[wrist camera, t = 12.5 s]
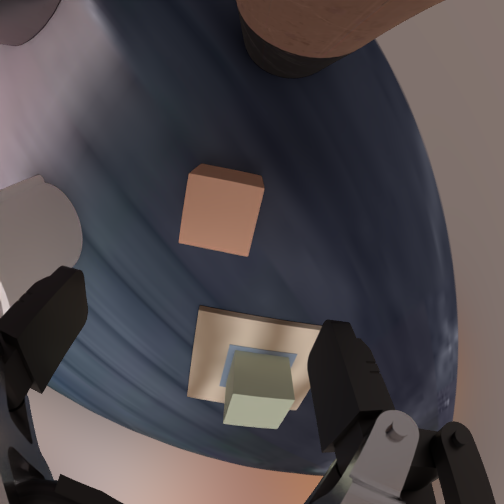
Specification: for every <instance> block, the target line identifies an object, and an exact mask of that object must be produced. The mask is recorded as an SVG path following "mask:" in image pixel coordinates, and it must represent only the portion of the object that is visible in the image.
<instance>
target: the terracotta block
mask: <svg viewBox="0 0 504 504" xmlns="http://www.w3.org/2000/svg"><path fill="white" fill-rule="evenodd" d="M264 189H265V188H264V184H263V180H262V176H260V175H256V174H251V173H247V172H242V171H237V170H232V169H227V168H222V167H217V166H212V165H206V164H200V165H199V166H198V167H196V168H195V169H194V170H193V171H191V172H190V173H189V176H188V182H187V188H186V194H185V201H184V207H183V214H182V221H181V228H180V236H179V243H182V244H187V245H192V246H197V247H202V248H207V249H212V250H217V251H222V252H227V253H232V254H237V255H242V256H247V257H248V254H249V250H250V246H251V242H252V238H253V234H254V230H255V226H256V222H257V218H258V214H259V209H260V205H261V201H262V197H263V193H264Z"/></svg>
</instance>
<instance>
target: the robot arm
mask: <svg viewBox="0 0 504 504" xmlns="http://www.w3.org/2000/svg"><path fill="white" fill-rule="evenodd" d="M59 1H60V0H0V44H3V45H10V46H17V45H21V44H23V43H25V42H27V41H28V40H29V39H31V38H32V37H33V36H34V35H35V34H37V33H38V32H39V31H40V30H41V28H42V27H43V26H44V25H45V24H46V23H47V21H48V20H49V18H50V17H51V16H52V14H53V12H54V11H55V9H56V7H57V5H58V3H59ZM87 315H88V306H87V298H86V290H85V281H84V274H83V272H82V271H81V270H78V269H74V268H70V267H67V266H60V267H59V268H58V269H57V270H56V271H54V272H53V273H52V274H51V275H50V276H49V277H48V276H47V277H45V278H43V279H41V280H39V281H37V282H35V283H34V284H33V285H32V286H31V287H30V288H29V289H28V290H27V291H26V294H25V293H24V294H23V295H22V296H21V297H20V298H19V301H16V302H15V303H14V304H13V305H12V306H11V307H10V308H9V310H8V311H7V312H6V313H5V314H4V315H3V316H2V317H1V318H0V504H123V503H121V502H119V501H117V500H116V499H114V498H112V497H111V496H109V495H107V494H106V493H104V492H102V491H100V490H97V489H95V488H92V487H89V486H87V485H84V484H82V483H80V482H77V481H75V480H72V479H70V478H68V477H66V476H64V475H62V474H60V476H59V479H58V481H57V480H54V479H53V477H52V474H51V471H50V470H49V467H48V465H47V463H46V461H45V459H44V457H43V456H42V454H41V452H40V449H39V446H38V442H37V438H36V434H35V430H34V425H33V420H32V415H31V410H30V404H29V399H28V396H27V393H28V390H29V389H30V388H31V389H33V390H35V391H37V392H39V393H41V394H42V393H43V391H44V390H45V388H46V386H47V384H48V382H49V381H50V379H51V377H52V376H53V374H54V372H55V371H56V369H57V367H58V366H59V364H60V362H61V361H62V359H63V357H64V356H65V354H66V353H67V351H68V349H69V348H70V346H71V345H72V343H73V342H74V340H75V339H76V337H77V335H78V334H79V332H80V331H81V329H82V328H83V326H84V325H85V323H86V320H87ZM375 362H376V361H375V359H374V357H373V354H372V352H371V350H370V349H369V347H368V346H367V345H366V344H365V343H364V342H363V341H362V340H361V339H359V338H356V336H355V334H354V331H353V329H352V327H351V324H350V323H349V322H342V321H334V320H326V321H325V322H324V323H323V325H322V327H321V330H320V332H319V334H318V336H317V338H316V341H315V343H314V345H313V347H312V349H311V351H310V353H309V357H308V362H307V371H308V376H309V382H310V387H311V392H312V398H313V403H314V409H315V415H316V420H317V426H318V432H319V438H320V444H321V450H322V453H323V452H335V454H336V459H335V460H334V461H333V463H332V464H331V466H330V467H329V469H328V470H327V472H326V473H325V475H324V476H323V478H322V479H321V481H320V482H319V484H318V485H317V487H316V488H315V489H314V491H313V492H312V494H311V495H310V496H309V498H308V499H307V500H306V502H305V503H304V504H436V500H435V496H434V491H433V487H432V484H431V483H432V482H433V481H435V480H436V479H438V478H439V480H440V484H441V488H442V492H443V496H444V500H445V504H496V503H495V500H494V496H493V493H492V489H491V486H490V483H489V480H488V477H487V474H486V471H485V468H484V465H483V462H482V460H481V457H480V454H479V452H478V449H477V447H476V444H475V442H474V439H473V437H472V434H471V433H470V431H469V430H468V428H466V427H465V426H464V425H463V424H461V423H459V422H449V423H447V424H446V425H444V426H443V427H442V428H441V429H440V430H439V431H438V432H437V431H430V430H424V429H419V428H418V427H417V425H416V423H415V422H414V420H413V419H412V418H411V417H410V416H408V415H407V414H405V413H403V412H401V411H397V410H395V408H394V405H393V403H392V400H391V398H390V395H389V393H388V390H387V388H386V385H385V383H384V380H383V378H382V375H381V374H379V372H380V371H379V368H378V366H377V364H375Z"/></svg>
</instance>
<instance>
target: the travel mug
mask: <svg viewBox="0 0 504 504" xmlns="http://www.w3.org/2000/svg"><path fill="white" fill-rule="evenodd" d="M236 1H237V7H238V12H239V17H240V22H241V28H242V33H243V38H244V43H245V47H246V49H247V52H248V54H249V56H250V57H251V58H252V60H253V61H254V62H255V63H256V64H257V65H258V66H259V67H260V68H262V69H263V70H265V71H267V72H269V73H271V74H273V75H276V76H279V77H284V78H301V77H306V76H309V75H312V74H314V73H316V72H318V71H320V70H322V69H323V68H325V67H327V66H329V65H330V64H332V63H334V62H336V61H337V60H339V59H341V58H343V57H345V56H347V55H348V54H350V53H352V52H354V51H356V50H357V49H359V48H361V47H362V46H364V45H365V44H367V43H369V42H370V41H372V40H373V39H375V38H377V37H378V36H380V35H382V34H383V33H385V32H386V31H388V30H390V29H392V28H393V27H395V26H397V25H399V24H400V23H402V22H404V21H406V20H407V19H409V18H411V17H413V16H415V15H417V14H419V13H420V12H422V11H424V10H426V9H428V8H430V7H432V6H434V5H436V4H438V3H440V2H442V1H444V0H236Z"/></svg>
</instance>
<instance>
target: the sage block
mask: <svg viewBox="0 0 504 504" xmlns="http://www.w3.org/2000/svg"><path fill="white" fill-rule="evenodd" d="M294 401H295V396H294V389H293V382H292V375H291V368H290V362H289V357H281V356H273V355H266V354H259V353H252V352H245V351H239V350H235V353H234V356H233V360H232V363H231V367H230V371H229V374H228V378H227V381H226V390H225V404H224V419H223V424H231V425H239V426H248V427H259V428H272V429H277V428H278V427H279V425H280V424H281V422H282V421H283V419H284V417H285V416H286V414H287V413H288V411H289V409H290V408H291V406H292V404H293V403H294Z"/></svg>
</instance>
